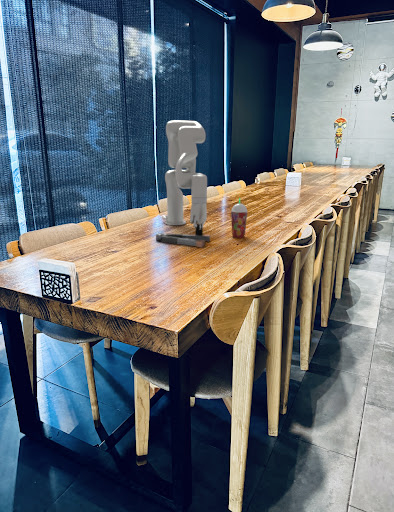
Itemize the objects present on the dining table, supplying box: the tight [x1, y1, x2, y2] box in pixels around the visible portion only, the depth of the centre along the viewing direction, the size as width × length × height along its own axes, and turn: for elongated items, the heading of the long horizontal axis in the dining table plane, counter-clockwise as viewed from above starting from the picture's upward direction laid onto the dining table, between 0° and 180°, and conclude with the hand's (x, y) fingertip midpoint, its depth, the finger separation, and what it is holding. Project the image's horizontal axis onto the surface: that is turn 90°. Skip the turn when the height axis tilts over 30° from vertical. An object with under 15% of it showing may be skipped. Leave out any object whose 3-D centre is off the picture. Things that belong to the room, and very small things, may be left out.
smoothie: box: [230, 197, 248, 239], centre depth 192 cm, size 8×8×20 cm
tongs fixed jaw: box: [161, 236, 206, 248], centre depth 179 cm, size 22×3×3 cm, turn 64°
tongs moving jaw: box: [155, 233, 211, 242], centre depth 186 cm, size 26×5×3 cm, turn 85°
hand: (199, 237), depth 189 cm, fingers closed
